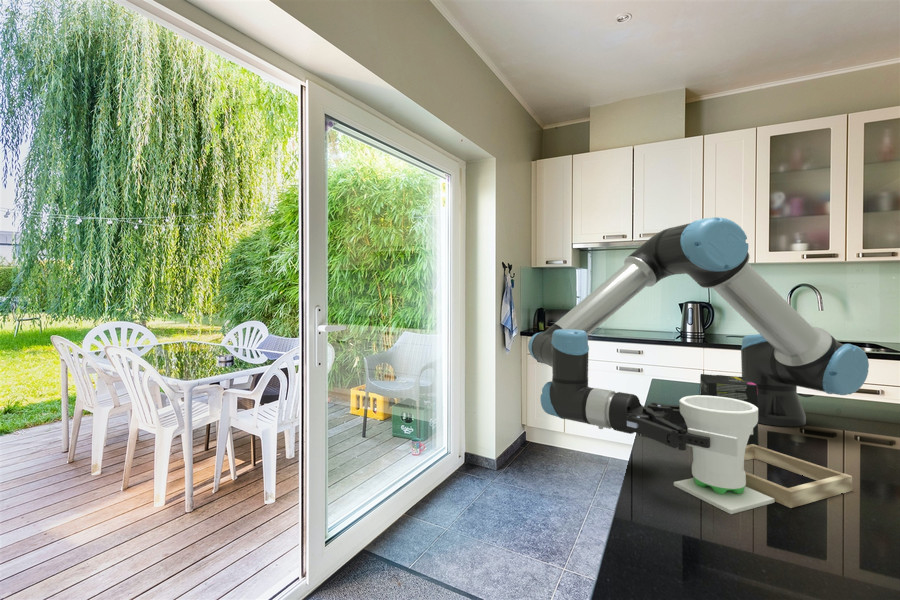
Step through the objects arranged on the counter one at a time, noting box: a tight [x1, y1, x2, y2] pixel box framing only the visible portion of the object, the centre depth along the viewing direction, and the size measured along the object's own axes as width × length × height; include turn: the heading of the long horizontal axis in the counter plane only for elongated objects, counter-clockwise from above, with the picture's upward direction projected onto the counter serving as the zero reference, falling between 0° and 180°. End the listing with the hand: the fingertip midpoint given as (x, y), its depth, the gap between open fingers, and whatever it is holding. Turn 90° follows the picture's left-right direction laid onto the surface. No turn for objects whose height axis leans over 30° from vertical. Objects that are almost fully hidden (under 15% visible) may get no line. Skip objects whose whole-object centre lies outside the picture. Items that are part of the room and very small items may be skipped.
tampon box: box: [699, 373, 760, 446], centre depth 90 cm, size 11×9×15 cm
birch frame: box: [744, 444, 853, 509], centre depth 72 cm, size 16×16×2 cm
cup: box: [678, 395, 759, 494], centre depth 68 cm, size 11×11×14 cm
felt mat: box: [673, 477, 775, 515], centre depth 67 cm, size 10×10×1 cm
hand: (745, 436), depth 64 cm, fingers open, 13 cm apart
